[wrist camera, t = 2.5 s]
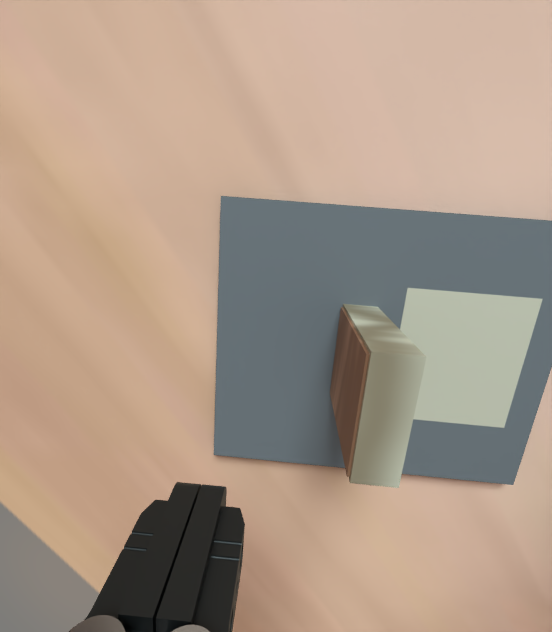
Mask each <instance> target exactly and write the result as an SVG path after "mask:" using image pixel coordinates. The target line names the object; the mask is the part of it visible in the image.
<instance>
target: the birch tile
mask: <svg viewBox="0 0 552 632" xmlns="http://www.w3.org/2000/svg"><path fill="white" fill-rule="evenodd" d="M425 362H426V356H425V355H424V354H423V353H422V352H421V351H420V350H419V349H418V348H417V347H416V345H415V344H414V343H413V342H412V341H411V340H410V339H409V338H408V337H407V336H406V335H405V334H404V333H403V332H402V331H401V330H400V329H399V328H398V327H397V326H396V325H395V324H394V323H393V322H392V321H391V320H390V319H389V318H388V317H387V316H386V315H385V314H384V313H383V312H382V311H381V310H380V309H379V308H378V307H375V306H363V305H351V304H343V307H341V311H340V318H339V326H338V333H337V341H336V349H335V356H334V364H333V372H332V379H331V387H330V396H331V401H332V406H333V411H334V416H335V420H336V425H337V430H338V435H339V440H340V445H341V450H342V455H343V460H344V465H345V469H346V474H347V476H349V481H350V483H356V484H366V485H375V486H385V487H395V488H399V484H400V479H401V475H402V470H403V465H404V461H405V456H406V451H407V446H408V442H409V437H410V432H411V428H412V423H413V418H414V414H415V409H416V404H417V399H418V395H419V390H420V385H421V381H422V376H423V371H424V366H425Z"/></svg>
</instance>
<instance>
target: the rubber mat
mask: <svg viewBox="0 0 552 632" xmlns="http://www.w3.org/2000/svg"><path fill="white" fill-rule="evenodd" d="M343 304H351V305H363V306H375V307H378V308H379V309H380V310H381V311H382V312H383V313H384V314H385V315H386V316H387V317H388V318H389V319H390V320H391V321H392V322H393V323H394V324H395V325H396V326H397V327H398V328H399V329H400V330H401V331H402V332H403V333H404V334H405V335H406V336H407V337H408V338H409V339H410V340H411V341H412V342H413V343H414V344H415V345H416V347H417V348H418V349H419V350H420V351H421V352H422V353H423V354H424V355H425V356H426V362H425V366H424V371H423V376H422V381H421V385H420V390H419V395H418V399H417V404H416V409H415V414H414V418H413V423H412V428H411V432H410V437H409V442H408V446H407V451H406V456H405V461H404V465H403V470H402V474H410V475H420V476H430V477H440V478H450V479H460V480H470V481H480V482H490V483H500V484H510V485H513V484H514V481H515V478H516V475H517V472H518V468H519V465H520V462H521V459H522V456H523V453H524V450H525V447H526V444H527V441H528V438H529V435H530V432H531V429H532V426H533V422H534V419H535V416H536V413H537V410H538V407H539V404H540V401H541V398H542V395H543V392H544V389H545V386H546V383H547V379H548V376H549V373H550V370H551V367H552V221H547V220H534V219H521V218H507V217H494V216H481V215H467V214H454V213H441V212H427V211H414V210H401V209H387V208H374V207H361V206H347V205H334V204H321V203H307V202H294V201H281V200H267V199H254V198H241V197H227V196H221V212H220V249H219V285H218V322H217V359H216V395H215V432H214V455H221V456H231V457H241V458H251V459H261V460H271V461H281V462H291V463H301V464H310V465H320V466H330V467H340V468H345V465H344V460H343V455H342V450H341V445H340V440H339V435H338V430H337V425H336V420H335V416H334V411H333V406H332V401H331V396H330V387H331V379H332V372H333V364H334V356H335V349H336V341H337V333H338V326H339V318H340V311H341V307H343Z"/></svg>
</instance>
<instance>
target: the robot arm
mask: <svg viewBox="0 0 552 632" xmlns="http://www.w3.org/2000/svg"><path fill="white" fill-rule="evenodd" d="M244 527H245V524H244V520H243V517H242V513H241V510H240V508H234V507H226V487H222V486H212V485H201V484H191V483H181V482H177V483H176V484H175V486H174V488H173V491H172V493H171V495H170V497H169V500H168V501H163V500H155V501H154V502H153V503H152V504H151V505H150V506H149V507H147V508H146V509H145V510H144V511H143V512H142V513H141V515H140V517H139V519H138V521H137V522H136V524H135V526H134V528H133V530H132V534H131V535H130V536H129V538H128V540H127V542H126V544H125V546H124V549H123V550H122V551H121V553H120V555H119V557H118V559H117V561H116V563H115V565H114V567H113V569H112V571H111V573H110V575H109V577H108V579H107V580H106V582H105V584H104V586H103V588H102V590H101V592H100V594H99V596H98V598H97V600H96V602H95V604H94V606H93V608H92V610H91V611H90V613H89V615H88V616H87V618H86V619H85V620H84V621H82V622H81V623H79V624H77V625H76V626H75V627H73V628H72V629H71V630H70V631H69V632H232V629H233V622H234V615H235V608H236V601H237V595H238V588H239V581H240V574H241V567H242V557H243V542H244Z"/></svg>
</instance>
